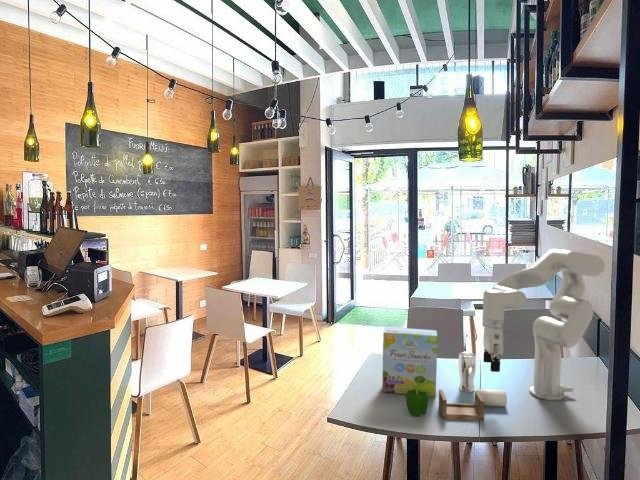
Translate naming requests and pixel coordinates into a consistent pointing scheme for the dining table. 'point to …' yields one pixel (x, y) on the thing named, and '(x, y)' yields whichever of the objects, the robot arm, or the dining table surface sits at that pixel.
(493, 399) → the roll
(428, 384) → the snack box
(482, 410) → the cradle
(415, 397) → the bell pepper
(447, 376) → the dining table surface
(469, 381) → the beer glass
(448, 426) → the dining table surface
